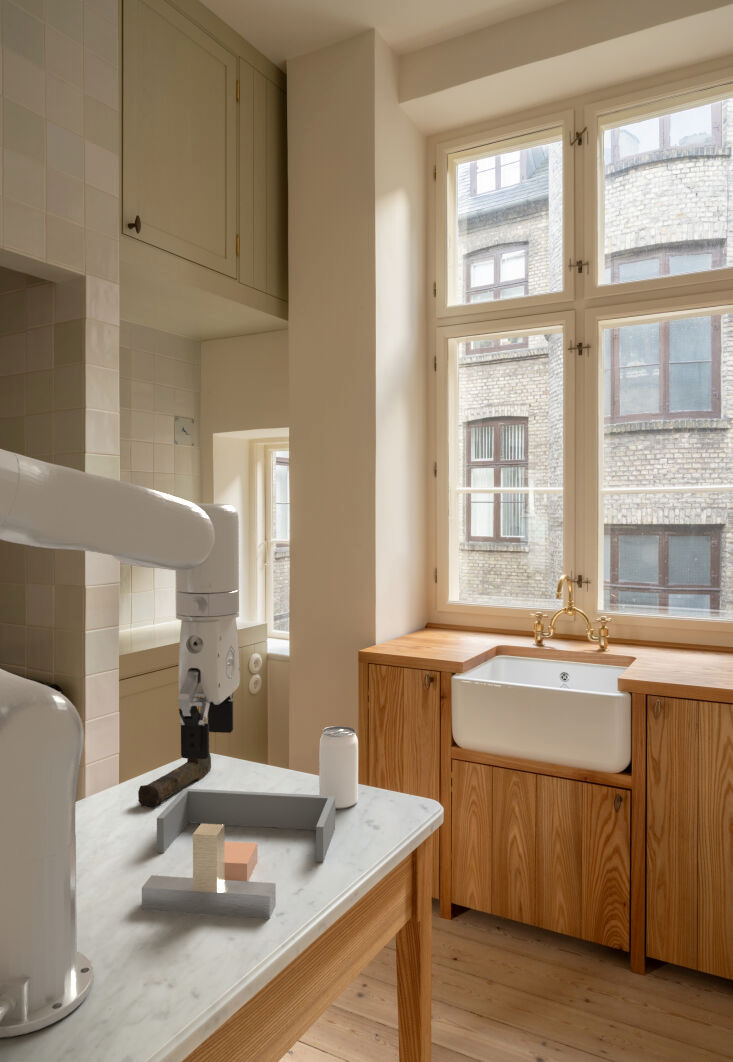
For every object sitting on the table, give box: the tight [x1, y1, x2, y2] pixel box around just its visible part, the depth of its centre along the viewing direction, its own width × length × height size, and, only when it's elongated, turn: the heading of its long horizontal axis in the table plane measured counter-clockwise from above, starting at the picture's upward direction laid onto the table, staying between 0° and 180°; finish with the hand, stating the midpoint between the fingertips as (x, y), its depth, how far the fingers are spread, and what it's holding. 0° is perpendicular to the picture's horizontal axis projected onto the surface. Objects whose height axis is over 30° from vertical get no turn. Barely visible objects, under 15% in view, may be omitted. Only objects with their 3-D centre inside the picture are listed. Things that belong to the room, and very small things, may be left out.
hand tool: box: [137, 751, 212, 809], centre depth 129 cm, size 19×4×5 cm, turn 157°
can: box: [318, 725, 359, 810], centre depth 123 cm, size 6×6×12 cm
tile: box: [225, 841, 259, 882], centre depth 100 cm, size 6×6×3 cm
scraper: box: [141, 823, 277, 920], centre depth 91 cm, size 3×16×10 cm, turn 84°
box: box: [156, 787, 336, 863], centre depth 109 cm, size 11×24×5 cm, turn 84°
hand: (208, 744), depth 90 cm, fingers open, 9 cm apart
